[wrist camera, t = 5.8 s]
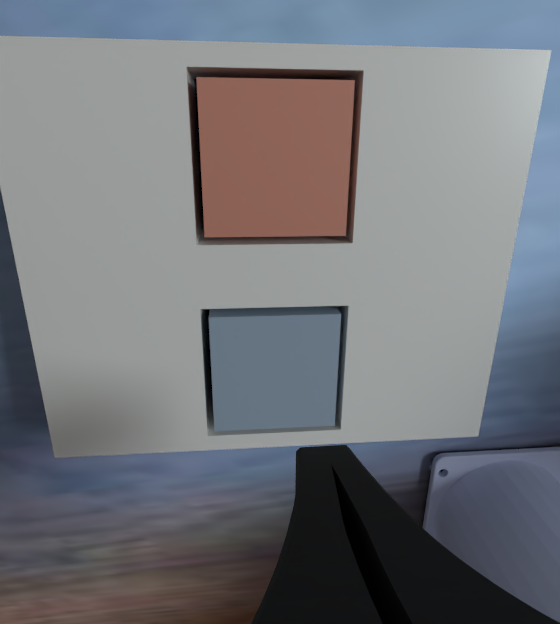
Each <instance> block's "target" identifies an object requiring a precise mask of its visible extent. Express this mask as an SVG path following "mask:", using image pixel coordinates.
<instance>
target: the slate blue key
mask: <svg viewBox="0 0 560 624" xmlns="http://www.w3.org/2000/svg"><path fill="white" fill-rule="evenodd" d="M340 326H341V313H340V311H339V310H338V308H337V306H310V307H269V308H227V309H210V312H209V335H210V354H211V374H212V394H213V413H214V431H232V430H254V429H275V428H296V427H317V426H335V412H336V395H337V378H338V361H339V344H340Z"/></svg>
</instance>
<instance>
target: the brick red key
mask: <svg viewBox="0 0 560 624" xmlns="http://www.w3.org/2000/svg"><path fill="white" fill-rule="evenodd" d="M196 79H197V99H198V119H199V138H200V158H201V178H202V197H203V217H204V237H289V236H346V224H347V207H348V189H349V172H350V155H351V138H352V120H353V103H354V86H355V80H320V79H268V78H216V77H196Z"/></svg>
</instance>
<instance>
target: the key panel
mask: <svg viewBox="0 0 560 624" xmlns="http://www.w3.org/2000/svg"><path fill="white" fill-rule="evenodd" d="M550 55H551V50H522V49H483V48H445V47H407V46H368V45H330V44H292V43H253V42H215V41H176V40H138V39H100V38H61V37H23V36H0V188H1V193H2V198H3V203H4V208H5V213H6V218H7V223H8V228H9V233H10V238H11V243H12V248H13V253H14V258H15V263H16V268H17V273H18V278H19V283H20V288H21V293H22V298H23V303H24V308H25V313H26V318H27V323H28V328H29V333H30V338H31V343H32V347H33V352H34V357H35V362H36V367H37V372H38V377H39V382H40V387H41V392H42V397H43V402H44V407H45V412H46V417H47V422H48V427H49V432H50V437H51V442H52V447H53V452H54V457H55V458H64V457H84V456H103V455H123V454H143V453H163V452H182V451H202V450H222V449H242V448H261V447H281V446H301V445H321V444H340V443H360V442H380V441H400V440H419V439H439V438H459V437H478V435H479V430H480V424H481V419H482V414H483V409H484V403H485V398H486V393H487V388H488V382H489V377H490V372H491V366H492V361H493V356H494V351H495V345H496V340H497V335H498V329H499V324H500V319H501V314H502V308H503V303H504V298H505V293H506V287H507V282H508V277H509V271H510V266H511V261H512V256H513V250H514V245H515V240H516V235H517V229H518V224H519V219H520V213H521V208H522V203H523V198H524V192H525V187H526V182H527V177H528V171H529V166H530V161H531V155H532V150H533V145H534V140H535V134H536V129H537V124H538V118H539V113H540V108H541V103H542V97H543V92H544V87H545V82H546V76H547V71H548V66H549V60H550ZM196 77H216V78H268V79H320V80H355V86H354V103H353V120H352V138H351V155H350V172H349V189H348V207H347V224H346V236H289V237H204V230H202V214H201V195H200V176H199V156H198V137H197V118H196V99H195V80H194V78H196ZM310 306H337V308H338V310H339V311H340V313H341V326H340V344H339V361H338V378H337V395H336V412H335V426H317V427H296V428H275V429H254V430H232V431H214V413H213V398H211V386H210V367H209V348H208V329H207V309H227V308H269V307H310Z"/></svg>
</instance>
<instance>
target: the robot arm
mask: <svg viewBox="0 0 560 624" xmlns="http://www.w3.org/2000/svg"><path fill="white" fill-rule="evenodd" d="M442 469H444V470H443V471H442V472H439V471H440V470H442ZM251 624H560V447H547V448H528V449H509V450H491V451H472V452H453V453H441V454H438V455H436V456H435V457H434V459H433V461H432V468H431V475H430V481H429V488H428V495H427V501H426V508H425V514H424V521H423V528H422V527H421V526H420V525H419V524H418V523H417V522H416V521H415V520H414V519H413V518H412V517H411V516H410V515H408V514H407V513H406V512H405V511H404V510H403V509H402V508H401V507H400V506H399V505H398V504H397V503H396V501H395V500H394V499H393V498H392V497H391V496H390V495H389V494H388V493H387V492H386V491H385V490H384V489H383V488H382V486H381V485H380V484H379V483H378V482H377V481H376V480H375V479H374V477H373V476H372V475H371V474H370V473H369V472H368V470H367V469H366V468H365V467H364V466H363V464H362V463H361V462H360V461H359V460H358V458H357V457H356V456H355V455H354V453H353V452H352V451H351V450H350V448H348V447H347V446H346V445H338V446H320V447H303V448H300V449H298V450H297V451H296V495H295V502H294V507H293V511H292V515H291V519H290V524H289V528H288V532H287V535H286V539H285V542H284V545H283V548H282V551H281V554H280V557H279V560H278V563H277V566H276V569H275V571H274V574H273V576H272V579H271V581H270V584H269V586H268V589H267V591H266V594H265V596H264V598H263V601H262V603H261V605H260V607H259V609H258V611H257V613H256V615H255V617H254V619H253V621H252V623H251Z"/></svg>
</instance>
